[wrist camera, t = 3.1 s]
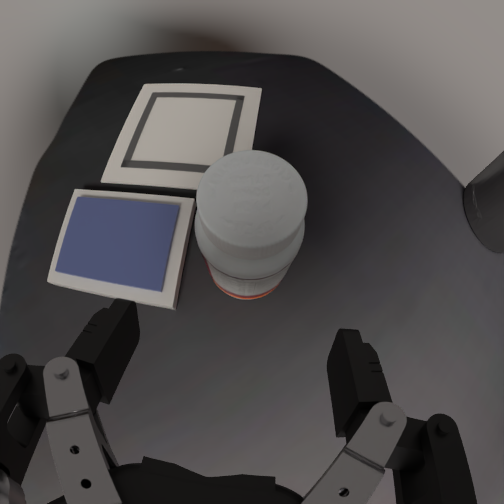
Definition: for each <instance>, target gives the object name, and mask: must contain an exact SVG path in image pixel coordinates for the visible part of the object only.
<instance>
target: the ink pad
mask: <svg viewBox="0 0 504 504" xmlns="http://www.w3.org/2000/svg"><path fill="white" fill-rule="evenodd" d="M195 208H196V203H195V199H194V198H184V197H173V196H162V195H151V194H139V193H126V192H113V191H98V190H81V189H75V191H74V193H73V196H72V199H71V202H70V204H69V207H68V210H67V213H66V216H65V219H64V222H63V225H62V228H61V232H60V235H59V238H58V242H57V245H56V249H55V252H54V256H53V260H52V263H51V267H50V271H49V276H48V280H47V282H49V283H51V284H54V285H57V286H62V287H66V288H70V289H74V290H79V291H83V292H88V293H92V294H97V295H101V296H106V297H111V298H121V299H126V300H131V301H135V302H136V303H141V304H147V305H152V306H158V307H163V308H169V309H175V310H176V306H177V300H178V294H179V289H180V283H181V277H182V272H183V267H184V261H185V256H186V251H187V246H188V241H189V236H190V231H191V227H192V222H193V217H194V213H195Z"/></svg>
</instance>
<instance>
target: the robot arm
mask: <svg viewBox="0 0 504 504" xmlns="http://www.w3.org/2000/svg"><path fill="white" fill-rule="evenodd" d="M464 208H465V212H466V216H467V218H468V221H469V224H470V226H471V228H472V229H473V231H474V233H475V234H476V236H477V237H478V239H479V240H480V241H481V242H482V243H483V245H485V246H486V247H487V248H488V249H490V250H492V251H493V252H497V253H504V151H503V152H502V153H501V154H500V155H499V156H498V157H497V158H496V159H495V160H494V161H493V162H491V164H489V165H488V166H487V167H486V168H485V169H484V170H483V171H482V172H481V173H480V174H478V175H477V176H476V177H475V178H474V179H473V180H472V181H471V182H470V183H469V184H468V185H467V186H466V188H465V191H464ZM139 337H140V328H139V321H138V314H137V307H136V303H135V301H131V300H126V299H121V298H116V299H115V300H114V302H113V303H112V304H111V306H110V307H109V309H107V308H103V309H101V310H100V311H98V312H97V313H95V314H94V315H93V317H92V318H91V319H90V321H89V322H88V325H86V326H85V328H84V329H83V332H81V334H80V335H79V336H78V338H77V339H76V341H75V342H74V344H73V345H72V347H71V348H70V350H69V351H68V353H67V354H66V356H65V357H58V358H55V359H52V360H51V361H49V362H48V363H47V364H46V366H33V365H27V363H26V361H25V360H24V358H23V357H22V356H21V355H19V354H9V355H6V356H4V357H3V358H1V359H0V504H26V500H25V494H24V491H23V489H22V487H21V484H22V481H23V479H24V476H25V473H26V471H27V468H28V466H29V463H30V460H31V458H32V455H33V453H34V451H35V448H36V446H37V443H38V441H39V439H40V436H41V434H42V432H43V430H44V427H45V425H46V428H47V433H48V438H49V443H50V447H51V451H52V455H53V459H54V463H55V467H56V470H57V474H58V477H59V481H60V484H61V487H62V490H63V493H64V495H63V496H61V497H59V498H57V499H55V500H53V501H51V502H49V503H47V504H366V503H367V502H368V500H369V498H370V497H371V495H372V494H373V492H374V491H375V489H376V487H377V486H378V484H379V482H380V481H381V479H382V477H383V475H384V473H385V470H384V467H385V468H390V469H392V470H393V478H394V486H395V495H396V504H477V500H476V495H475V491H474V486H473V482H472V477H471V473H470V469H469V465H468V462H467V458H466V454H465V451H464V447H463V444H462V440H461V437H460V434H459V430H458V427H457V425H456V423H455V421H454V420H453V419H452V418H451V417H449V416H447V415H445V414H435V415H433V416H431V417H430V418H429V419H428V421H423V420H418V419H413V418H409V417H406V415H405V413H404V411H403V410H402V409H401V408H400V407H399V406H398V405H396V404H394V403H392V400H391V396H390V393H389V390H388V386H387V383H386V380H385V377H384V374H383V373H382V371H383V370H382V367H381V364H380V361H379V358H378V355H377V352H376V351H375V350H374V349H373V347H372V346H371V345H370V344H369V343H363V342H362V339H361V335H360V332H359V331H358V330H354V329H339V330H338V332H337V334H336V337H335V340H334V343H333V345H332V348H331V351H330V353H329V356H328V360H327V373H328V380H329V387H330V394H331V401H332V408H333V416H334V424H335V432H336V437H346V443H347V444H346V445H345V446H344V448H343V449H342V450H341V452H340V453H339V454H338V456H337V457H336V458H335V460H334V461H333V462H332V464H331V465H330V466H329V468H328V469H327V470H326V471H325V473H324V474H323V475H322V476H321V478H320V479H319V480H318V481H317V482H316V484H315V485H314V486H313V487H312V488H311V489H310V490H309V492H308V493H307V494H306V495H305V496H304V497H301V496H300V495H299V494H297V493H296V492H294V491H292V490H290V489H288V488H286V487H283V486H281V485H277V484H275V477H270V476H256V475H244V474H241V475H232V476H220V477H205V476H202V475H200V474H197V473H195V472H192V471H190V470H188V469H185V468H183V467H181V466H179V465H176V464H174V463H169V462H165V461H160V460H156V459H152V458H148V457H145V456H144V457H143V460H142V463H133V464H126V465H121V466H119V464H118V462H117V460H116V458H115V456H114V454H113V452H112V450H111V447H110V445H109V442H108V439H107V437H106V434H105V431H104V428H103V426H102V423H101V420H100V417H99V414H98V411H97V406H98V404H99V402H103V403H106V404H110V402H111V399H112V397H113V395H114V393H115V391H116V389H117V386H118V384H119V382H120V380H121V378H122V376H123V374H124V371H125V369H126V367H127V365H128V363H129V361H130V359H131V357H132V355H133V353H134V351H135V349H136V347H137V345H138V342H139ZM15 405H17V406H16V408H15V410H14V412H13V414H12V416H11V418H10V420H9V421H8V419H9V417H10V415H11V413H12V411H13V409H14V407H15ZM7 421H8V423H7Z"/></svg>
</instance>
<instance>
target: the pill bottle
mask: <svg viewBox="0 0 504 504" xmlns="http://www.w3.org/2000/svg"><path fill="white" fill-rule="evenodd" d="M307 201H308V199H307V191H306V187H305V184H304V182H303V180H302V178H301V176H300V175H299V173H298V172H297V171H296V170H295V168H294V167H293V166H292V165H290V164H289V163H288V162H287V161H285V160H284V159H282V158H280V157H278V156H276V155H274V154H271V153H268V152H264V151H258V150H244V151H238V152H234V153H230V154H228V155H226V156H224V157H222V158H220V159H218V160H217V161H216V162H214V163H213V164H212V165H211V166H210V167H209V168H208V169H207V170H206V171H205V173H204V174H203V176H202V178H201V180H200V182H199V185H198V188H197V195H196V203H197V212H196V216H195V235H196V239H197V243H198V246H199V249H200V251H201V254H202V256H203V258H204V260H205V263H206V265H207V268H208V270H209V273H210V275H211V277H212V279H213V281H214V282H215V284H216V285H217V286H218V287H219V288H220V289H221V290H222V291H223V292H225V293H226V294H228V295H230V296H232V297H235V298H239V299H256V298H260V297H263V296H265V295H267V294H268V293H270V292H271V291H273V290H274V289H275V288H276V287H277V286H278V285H279V283H280V282H281V281H282V279H283V277H284V276H285V274H286V272H287V270H288V268H289V267H290V265H291V263H292V261H293V260H294V258H295V256H296V255H297V253H298V251H299V248H300V246H301V244H302V241H303V237H304V231H305V221H304V217H305V214H306V210H307Z"/></svg>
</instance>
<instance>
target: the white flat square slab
mask: <svg viewBox="0 0 504 504" xmlns="http://www.w3.org/2000/svg"><path fill="white" fill-rule="evenodd" d="M261 92H262V88H253V87H242V86H229V85H212V84H144V86H143V88H142V90H141V92H140V94H139V95H138V97H137V99H136V101H135V103H134V105H133V107H132V109H131V112H130V114H129V116H128V118H127V120H126V122H125V124H124V126H123V129H122V131H121V133H120V135H119V137H118V140H117V142H116V144H115V147H114V149H113V151H112V154H111V156H110V159H109V161H108V164H107V166H106V169H105V171H104V174H103V177H102V179H101V183H118V184H133V185H147V186H160V187H172V188H183V189H193V190H197V188H198V185H199V182H200V180H201V178H202V176H203V174H204V173H205V171H206V170H207V169H208V168H209V167H210V166H211V165H212V164H213V163H214V162H216V161H217V160H218V159H220V158H222V157H224V156H226V155H228V154H230V153H234V152H238V151H244V150H252V146H253V140H254V134H255V128H256V122H257V116H258V110H259V104H260V98H261Z"/></svg>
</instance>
